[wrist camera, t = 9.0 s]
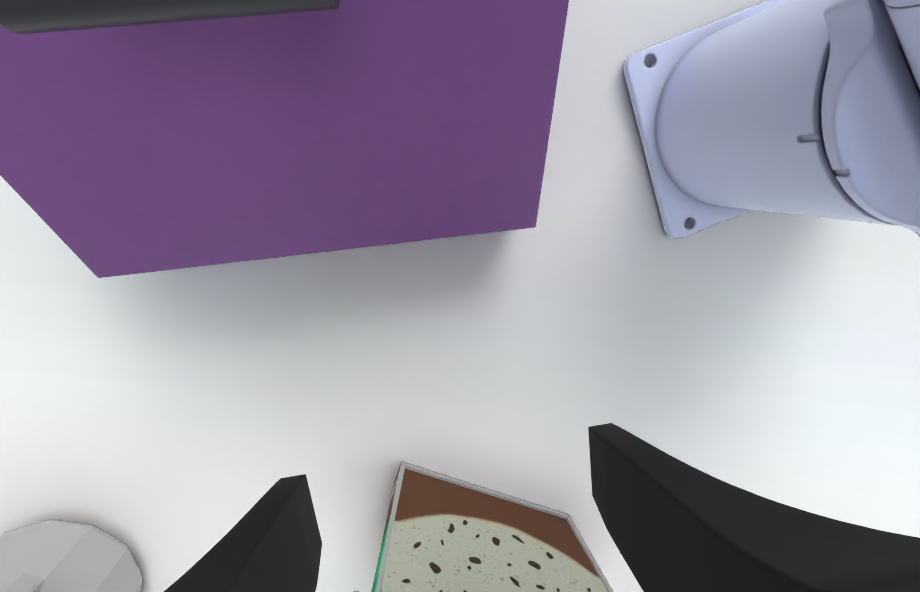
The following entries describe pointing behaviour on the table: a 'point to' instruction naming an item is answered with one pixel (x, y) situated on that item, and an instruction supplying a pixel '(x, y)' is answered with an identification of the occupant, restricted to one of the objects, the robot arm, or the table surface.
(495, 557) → the food container
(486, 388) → the table surface
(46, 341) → the table surface
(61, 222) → the lid
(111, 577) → the water bottle
